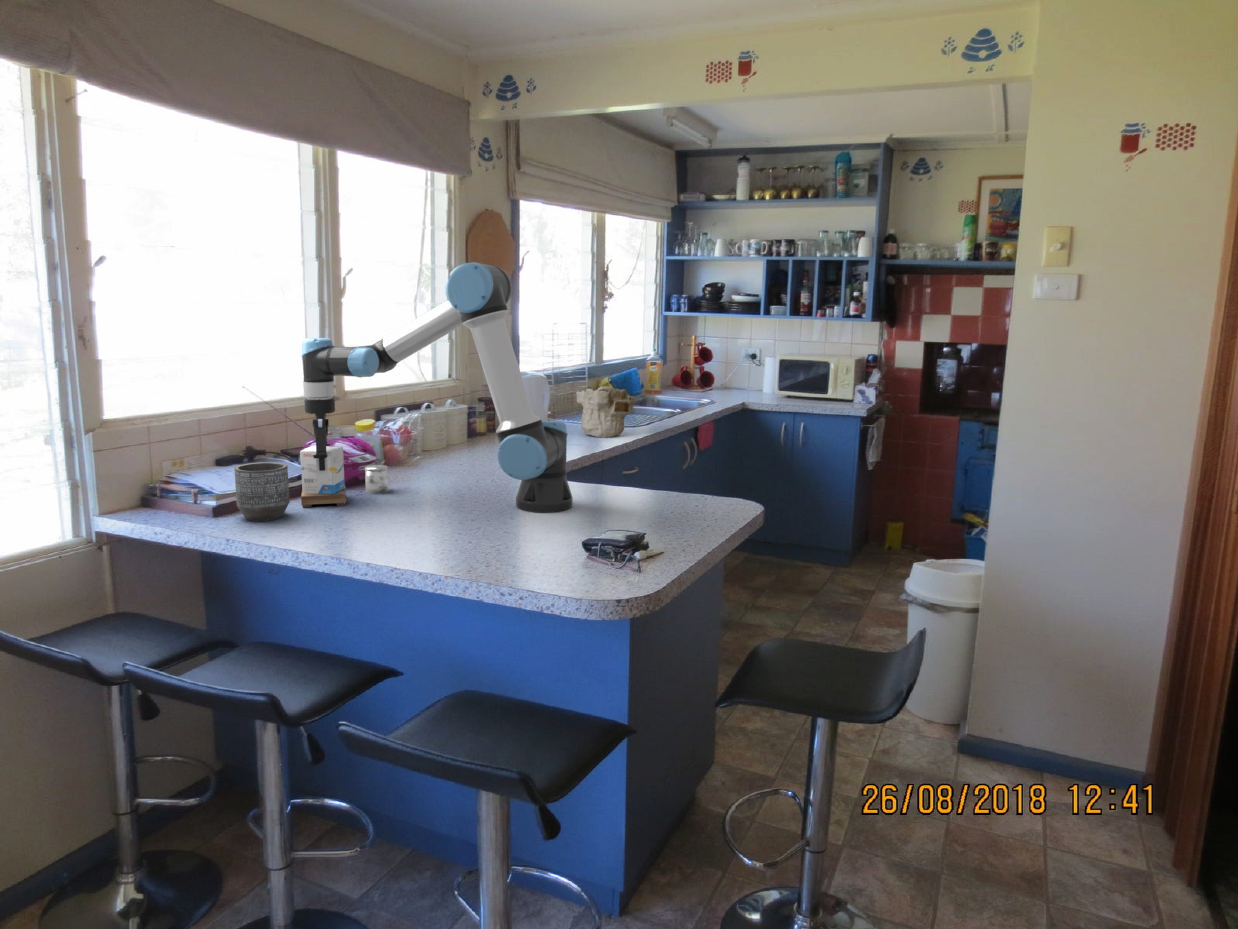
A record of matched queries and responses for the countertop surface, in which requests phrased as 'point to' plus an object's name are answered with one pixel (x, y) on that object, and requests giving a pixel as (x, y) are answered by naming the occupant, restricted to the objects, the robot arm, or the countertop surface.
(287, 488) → the planter
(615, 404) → the ceramic vessel
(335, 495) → the riser
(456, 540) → the countertop surface
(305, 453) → the ink box
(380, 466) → the tin
